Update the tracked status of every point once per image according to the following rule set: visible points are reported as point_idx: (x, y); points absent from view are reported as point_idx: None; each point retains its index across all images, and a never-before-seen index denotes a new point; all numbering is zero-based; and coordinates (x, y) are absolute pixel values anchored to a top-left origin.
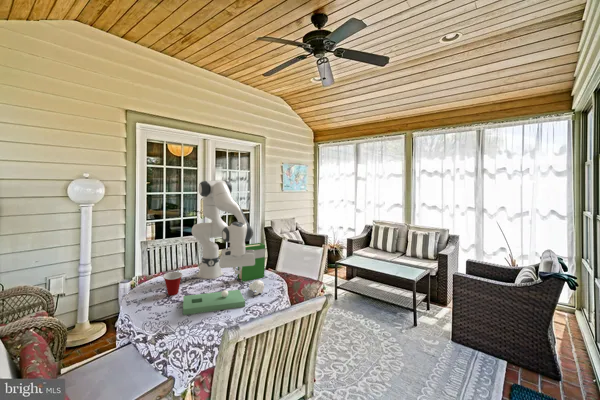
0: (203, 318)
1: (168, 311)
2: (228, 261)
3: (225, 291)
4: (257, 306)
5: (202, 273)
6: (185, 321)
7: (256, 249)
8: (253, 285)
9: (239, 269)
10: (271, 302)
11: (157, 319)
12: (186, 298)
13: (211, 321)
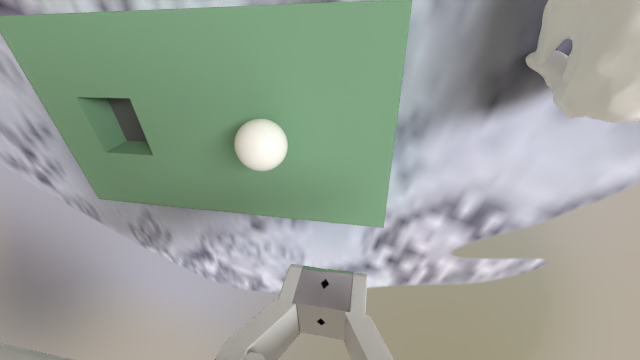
0: (204, 234)
1: (41, 131)
2: None
3: (258, 167)
4: (446, 229)
5: None
6: (150, 229)
7: None
8: (585, 31)
9: (354, 350)
10: (554, 217)
11: (47, 183)
12: (38, 71)
13: (236, 260)
